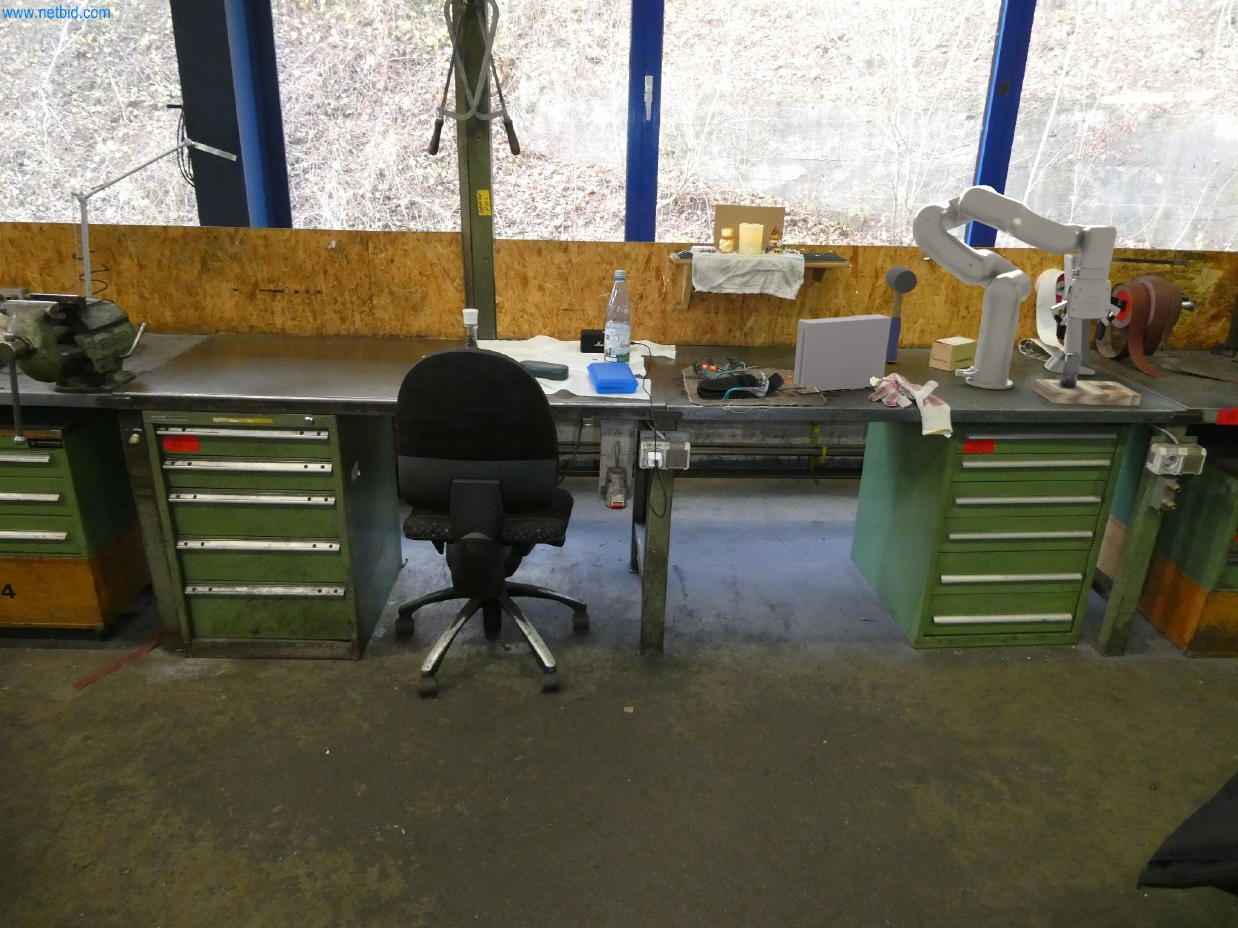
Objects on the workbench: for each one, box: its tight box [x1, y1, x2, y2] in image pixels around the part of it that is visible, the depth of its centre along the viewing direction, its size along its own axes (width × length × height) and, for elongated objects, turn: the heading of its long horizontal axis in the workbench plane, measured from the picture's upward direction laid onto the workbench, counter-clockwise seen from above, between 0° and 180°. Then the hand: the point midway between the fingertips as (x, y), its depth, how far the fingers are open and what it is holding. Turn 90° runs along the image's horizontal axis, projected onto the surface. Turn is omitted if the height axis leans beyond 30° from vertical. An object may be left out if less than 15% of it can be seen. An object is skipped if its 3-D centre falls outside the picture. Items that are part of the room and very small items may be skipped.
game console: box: [792, 313, 892, 391], centre depth 226 cm, size 6×27×20 cm, turn 111°
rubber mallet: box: [885, 265, 918, 362], centre depth 254 cm, size 12×8×30 cm, turn 176°
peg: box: [1059, 352, 1083, 388], centre depth 220 cm, size 4×4×9 cm
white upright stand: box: [1043, 252, 1096, 376], centre depth 245 cm, size 12×13×35 cm
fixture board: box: [1032, 378, 1142, 407], centre depth 222 cm, size 22×14×3 cm, turn 84°
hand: (1079, 339), depth 217 cm, fingers open, 9 cm apart
